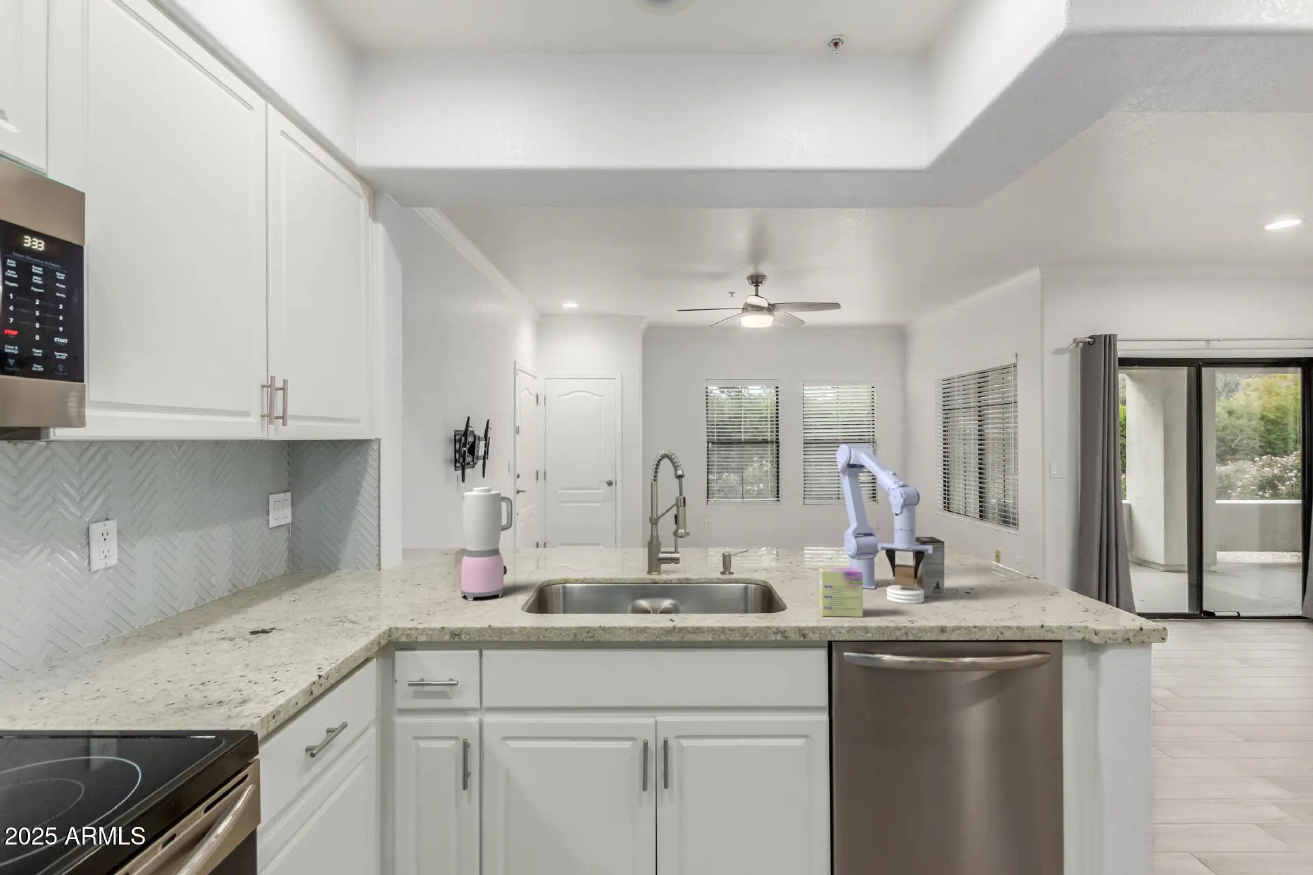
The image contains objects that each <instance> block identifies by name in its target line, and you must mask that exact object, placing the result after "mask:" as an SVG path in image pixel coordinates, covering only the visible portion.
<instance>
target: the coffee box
mask: <svg viewBox="0 0 1313 875" xmlns="http://www.w3.org/2000/svg"><path fill="white" fill-rule="evenodd" d="M916 544H919V545H930V546H933V553H925V554H924V558H923V560H922V562H921V564H920V567H919V570H918V574H917V579H915V585H914V586H916V587H919V588H922V589H923V590H924V598H925V597H932V598H933V597H942V598H943V597H945V540H942V539H939V538H937V537H934V536H916ZM912 565H914V566H915V552H912Z"/></svg>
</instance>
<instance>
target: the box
mask: <svg viewBox="0 0 1313 875" xmlns="http://www.w3.org/2000/svg"><path fill="white" fill-rule="evenodd" d="M862 574H863V573H862V571H861V570H860V569H859V568H850V567H828V566H827V567H826V566H825V567H824V566H823V567H822V566H821V567H820V566H819V567H818V611H819V613H820V614H821V616H822V617H846V618H847V617H851V618H863V617H864V615H863V614H864V612H863V611H864V609H863V607H864V605H863V603H864V598H863V592H864V591H863V589H864V588H863V575H862Z"/></svg>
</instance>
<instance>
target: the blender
mask: <svg viewBox="0 0 1313 875" xmlns="http://www.w3.org/2000/svg"><path fill="white" fill-rule="evenodd" d="M460 496H461V497H462V505H461V506H462V507H461V508H462V509H461V513H462V514H461V515H462V516H461V519H462V522H461V523H462V533H463V540H464V544H465V545H464V546H465V552H464V556H463V557H462V559H461V568H460V569H461V570H460V572H461V573H460V574H461V575H460V577H461V578H460V579H461V580H460V582H461V589H460V593H461V594H460V595H461V596H462V595H465V596H464V597H466V599H467V598H470V599H473V598H474V599H475V598H478V597H479V598H480V597H490V596H495V595H497V596H498V595H499V596H500V595H503V594H504V591H505V590H504V589H505V588H504V576H505V575H507V572H508V568H507V566H506V565H504V559H503V556H502V555H501V552H500V549H499V548H500V541H501V533H502V532H504V531H507V530H510V529H511V528H512V526H513V501H512V499H511V498H510V497H508V496H505V495H504V496H503V495H502V494H501V491H497V490H495V491H493V490H492V488H491V487H485V486H483V487H473V488H472V491H468V492H464V493H462V494H460ZM502 503H505V505H506V523H505V524H503V523H502V522H503V521H502V520H503V519H502V518H503V515H502V514H503V512H502V511H503V510H502V509H503V508H502Z"/></svg>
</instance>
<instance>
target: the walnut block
mask: <svg viewBox="0 0 1313 875" xmlns="http://www.w3.org/2000/svg"><path fill="white" fill-rule="evenodd" d="M895 565H896V566H895V577H894V585H899V586H910V587H914V585H915V579H914V574H915V566H914V565H913V564H901V563H900V564H898V563H895Z"/></svg>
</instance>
